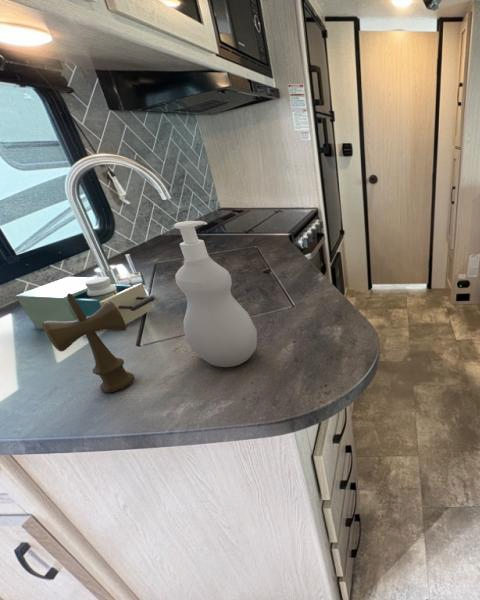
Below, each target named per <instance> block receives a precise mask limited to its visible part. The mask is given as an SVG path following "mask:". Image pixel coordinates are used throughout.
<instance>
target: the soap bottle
mask: <svg viewBox="0 0 480 600" xmlns="http://www.w3.org/2000/svg"><path fill="white" fill-rule="evenodd" d="M202 225H208V222H206V221H204V220H185V221H179V222H176V223H174V224H173V228H174V229H176V230H177V229H178V230H179V231H180V234H181V237H182V242H180V243H179V248H180V251H181V253H182V256H183V264H182V266H181V267H180V268H179V269H178V270H177V272H176V273H175V274H174V278H175V283H176V285H177V287H178V289H179V290H180V291H181V292H182V293H183V294H184V295H185V298H186V301H187V303H186V310H185V313H184V318H183V322H182V323H183V329H184V330H183V331H184V337H185V341H186V343H187V344H188V345H189V347H190V348H191V349H192V350H193V352H194V353H195V354H196V356H198V357H199V358H200V359H202V360H204V362H207V363H208V364H210V365H211V366H214V367H220V368H231V367H236V366H239V365H241V364H243V363H245V362H247V361H248V360H249V359H250V358H251V356H253V354H254V353H255V351H256V350H257V347H258V330H257V328H256V326H255V324H254V322H253V320H252V318H251V316H250V314H249V313H248V312H247V310H246V309H244V307H243V306H241V304H240V303H239V302H238V301H237V300H236V299H235V297H234V296H233V294H232V292H231V291H232V290H231V289H232V286H233V280H232V276H231V274H230V273H229V271H228V270H227V269H226V268H224V267H223V266H221V265H220V264H218V263H217V262H216V261H214V259H212V258H211V256H210V255H209V253H208V251H207V247H206V243H205V240H203V239H199V237H198V234H197V231H196V228H195V227H197V226H202Z"/></svg>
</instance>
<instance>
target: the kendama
mask: <svg viewBox="0 0 480 600" xmlns="http://www.w3.org/2000/svg"><path fill="white" fill-rule="evenodd" d="M67 296H68V299H69V301H70V303H71V305H72V307H73V309H74V311H75V313H76V315H77V317H78V319H79V320H75V321H44V322H43V323H42V326H43V329H42V330H43V331H44V333H45V335H46V337H47V338H48V340H49V341H50V343H51V345H52V346H53V347H54V348H55V349H56V350H57V351H58V352H65V351H66V350H68V349H69V348H70V347H71V346H72V345H73V344H74V343H75V342H76V341H78V340H79V339H81V338H82V337H84V336H86V339H87V341H88V344H89V348H90V349H91V352H92V356H93V359H94V362H95V364H94V365H95V366H94V367H93V368H92V373H93V374H94V375H96V376H100V379H101V380H102V382H101V384H100V386H99V388H100V391H101V392H103V393H114V392H118V391H120V390H123V389H125V388H126V387H128V386H129V385H130V384H132V383H133V382H134V380H135V375H134V374H133V373H131V372H129V371H126V369H125V367H124V364H125V360H124V359H123V358H121V357H116V356H115V355H114V354H113V353H112V351H111V350H110V349H109V348H108V347H107V346H106V345H105V343H104V342H103V340H102V339H101V338H100V336H99V335H98V333H97V332H99V331H114V332H125V331H126V330H127V324H126V325H125V322H124V319H123V317H122V315H121V314H120V312H119V310H118V309H117V307H116V306H115V305H114V304H113V303H112V302H110V301H107V302H106V303H105V304H104V305H103V306H102V307H101V308H100V309H99V310H98V311H97V312H96V313H94V314H93V315H91V316H88V317H86V316H85V315H84V313H83V311H82V310H81V308H80V306H79V305H78V303H77V301H76V300H75V298H74V297H73V296H72V294H70V293H68V294H67Z"/></svg>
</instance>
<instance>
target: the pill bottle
mask: <svg viewBox="0 0 480 600" xmlns="http://www.w3.org/2000/svg"><path fill="white" fill-rule="evenodd" d="M92 278H93V279H90V280H87V281H86V282H85V285H86V287H87V288H89V290H88V292H87V295H88V297H89V298H90V299H99V300H101V301H102V300H104V299H106V298H108V297H110V296H112V295H115V294H117V293H119V292H118V290H117V288H116V286H115V285H112V284H110V283H111V281H112V280H111V281H110V279H111V278H110V277H109V276H98V277H92ZM109 278H110V279H109Z"/></svg>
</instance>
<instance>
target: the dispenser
mask: <svg viewBox="0 0 480 600" xmlns="http://www.w3.org/2000/svg"><path fill="white" fill-rule="evenodd" d="M93 278H94V277H88V276H87V277H86V276H85V277H84V276H66V277H65V276H64V277H63V278H60V279H58V280H55V281H51V282H48V283H46V284H44V285H40V286H38V287H35V288H33V289H30V290H27V291H24V292H22V293H19V294H18V293H17V294H16V295H15V298H16V299H17V301H18V302H19V304H20V305H21V307H22V309H23V310H24V312H25V313H26V315H27V316H28V318H29V319H30V321H31V323H32V324H33V326H34V327H35V329H37V330H44V329H43V326H42V323H43V322H44V321H75V320H79V319H78V317H77V315H76V314H75V312H74V310H73V308H72V307H71V305H70V303H69V301H68V300H67V299H68V296H67V294H68V293H70V294H72V296H73V297H74V296H77V295H79V294H81V293H84V292H86V291H88V290H89V288H87V287H86V285H85V282H86V281H87V280H90V279H93ZM109 279H110V281H111V283H110V284H114V283H113V282H112V279H111V278H110V277H109Z"/></svg>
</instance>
